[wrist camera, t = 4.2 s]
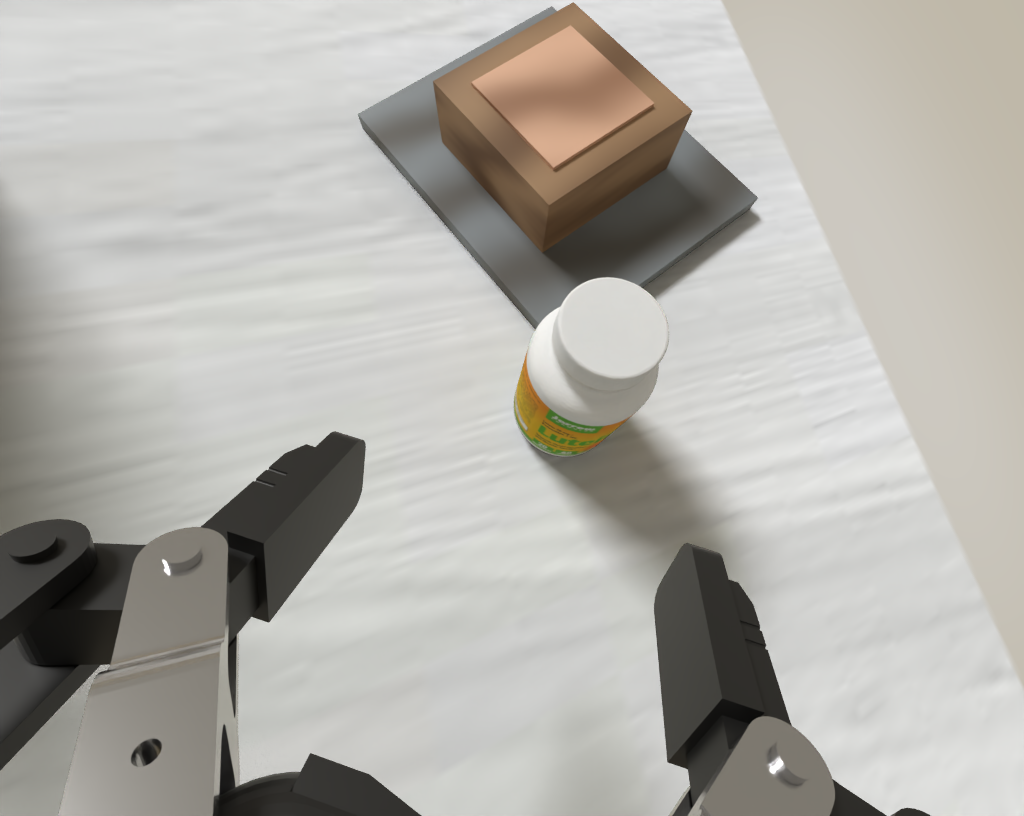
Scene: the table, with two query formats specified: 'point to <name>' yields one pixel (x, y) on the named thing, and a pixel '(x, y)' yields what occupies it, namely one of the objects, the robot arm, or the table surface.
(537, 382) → the supplement bottle
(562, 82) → the grey brown stepped block
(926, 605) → the table surface
